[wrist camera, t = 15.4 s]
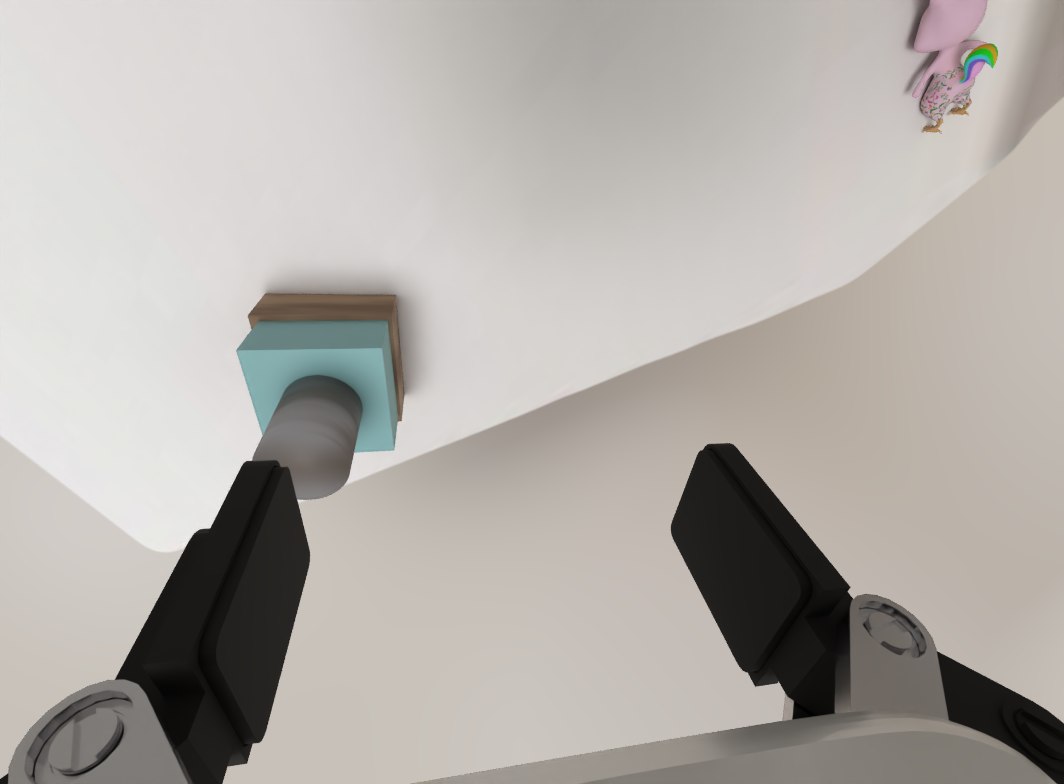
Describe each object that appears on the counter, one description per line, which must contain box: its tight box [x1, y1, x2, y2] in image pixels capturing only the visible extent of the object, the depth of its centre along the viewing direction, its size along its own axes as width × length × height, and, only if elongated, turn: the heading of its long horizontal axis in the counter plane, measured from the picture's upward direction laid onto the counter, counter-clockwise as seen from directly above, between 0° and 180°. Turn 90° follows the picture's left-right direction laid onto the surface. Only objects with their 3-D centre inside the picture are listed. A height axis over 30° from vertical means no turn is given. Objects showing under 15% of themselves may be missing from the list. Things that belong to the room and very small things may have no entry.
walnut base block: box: [248, 294, 404, 421], centre depth 43 cm, size 11×11×5 cm
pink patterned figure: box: [912, 0, 998, 134], centre depth 36 cm, size 6×6×15 cm
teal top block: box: [236, 320, 398, 452], centre depth 39 cm, size 10×10×5 cm
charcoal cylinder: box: [252, 375, 363, 500], centre depth 34 cm, size 6×6×7 cm
